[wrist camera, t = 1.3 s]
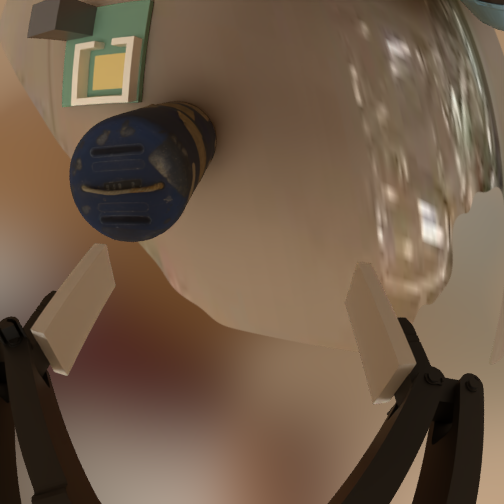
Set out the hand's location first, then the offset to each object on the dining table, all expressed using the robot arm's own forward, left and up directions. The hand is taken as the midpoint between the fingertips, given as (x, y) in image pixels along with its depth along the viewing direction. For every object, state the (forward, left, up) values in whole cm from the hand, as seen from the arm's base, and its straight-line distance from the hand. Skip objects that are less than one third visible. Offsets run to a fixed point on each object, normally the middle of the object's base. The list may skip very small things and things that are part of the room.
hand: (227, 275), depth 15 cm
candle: (-2, -8, -22) cm, 24 cm away
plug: (-18, -22, -21) cm, 35 cm away
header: (-11, -17, -21) cm, 29 cm away
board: (-13, -18, -22) cm, 32 cm away
